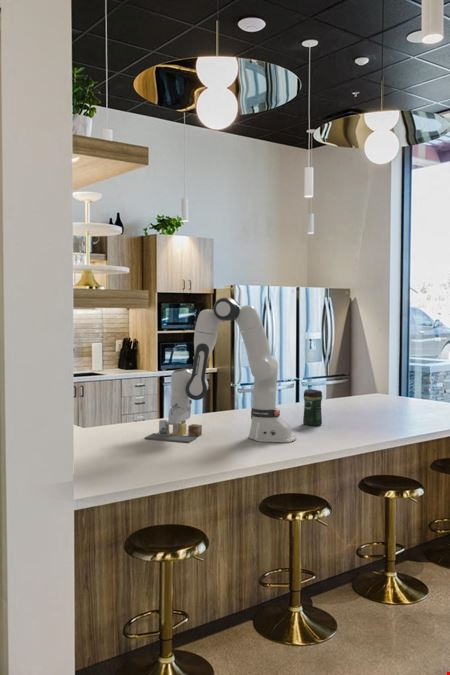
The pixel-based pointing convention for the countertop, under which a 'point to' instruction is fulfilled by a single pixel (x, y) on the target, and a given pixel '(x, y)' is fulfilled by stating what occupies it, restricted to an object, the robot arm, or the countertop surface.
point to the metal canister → (163, 427)
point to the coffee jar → (312, 407)
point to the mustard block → (180, 429)
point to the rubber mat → (171, 438)
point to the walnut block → (194, 430)
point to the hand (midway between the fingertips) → (179, 430)
